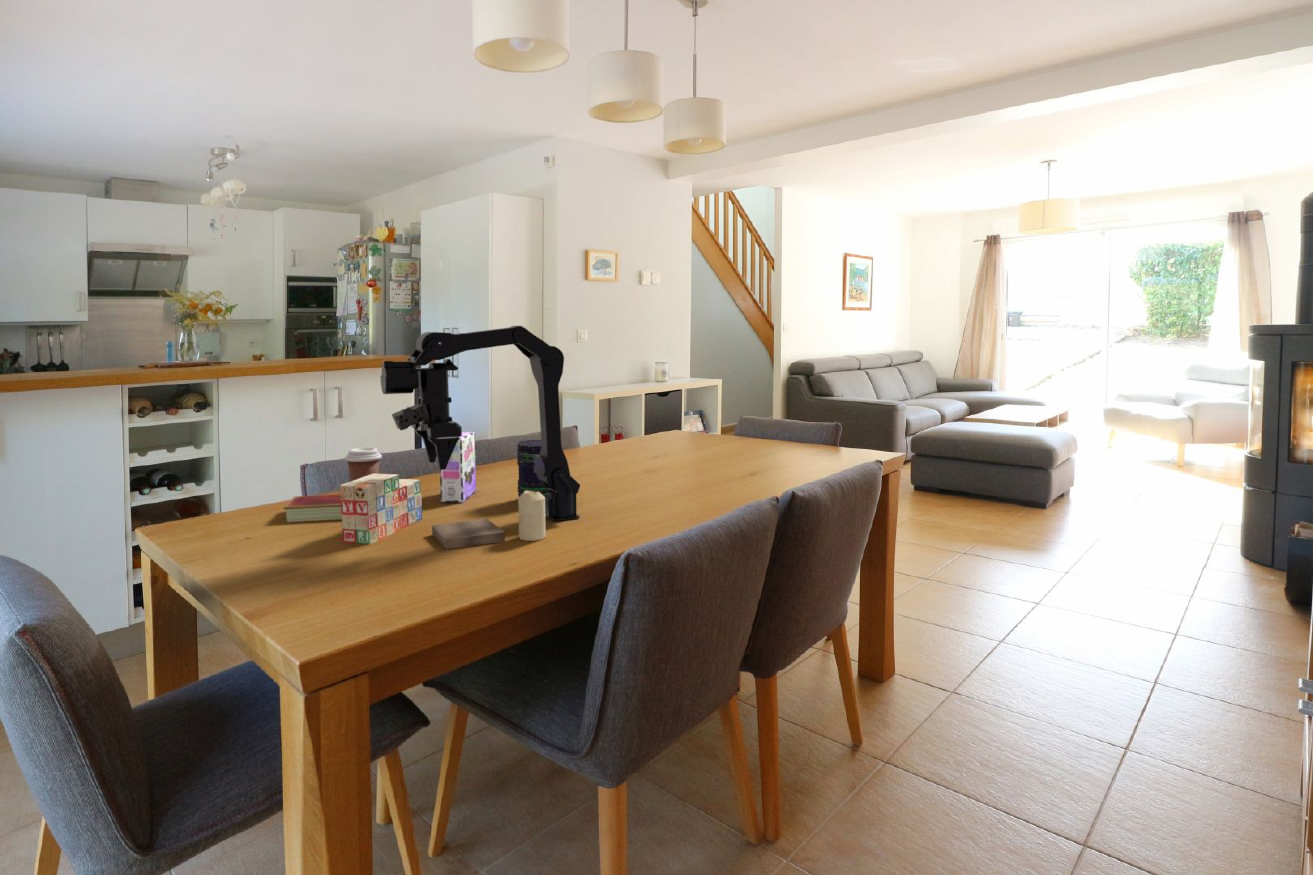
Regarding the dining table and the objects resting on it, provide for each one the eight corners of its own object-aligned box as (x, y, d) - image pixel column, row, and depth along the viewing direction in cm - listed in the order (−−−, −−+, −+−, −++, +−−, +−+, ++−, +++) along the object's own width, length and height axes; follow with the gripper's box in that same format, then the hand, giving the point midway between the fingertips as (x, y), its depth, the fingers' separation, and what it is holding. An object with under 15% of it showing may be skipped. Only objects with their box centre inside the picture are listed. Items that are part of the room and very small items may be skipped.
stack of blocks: (398, 517, 175) (395, 465, 174) (422, 519, 174) (420, 466, 172) (342, 542, 155) (339, 484, 153) (370, 544, 153) (367, 485, 152)
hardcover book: (295, 512, 181) (294, 494, 181) (388, 507, 186) (387, 490, 186) (284, 524, 170) (283, 506, 169) (383, 519, 175) (382, 501, 174)
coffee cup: (352, 491, 202) (350, 446, 200) (387, 490, 203) (385, 446, 201) (342, 498, 193) (339, 452, 191) (378, 498, 194) (376, 452, 192)
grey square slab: (487, 527, 166) (487, 518, 166) (504, 541, 156) (504, 531, 156) (432, 534, 160) (431, 525, 160) (446, 549, 150) (446, 539, 150)
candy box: (463, 503, 189) (461, 438, 187) (440, 503, 189) (437, 438, 187) (477, 491, 203) (475, 430, 200) (455, 491, 203) (453, 430, 201)
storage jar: (537, 494, 199) (536, 438, 197) (565, 499, 194) (564, 442, 191) (509, 501, 191) (508, 443, 189) (537, 507, 186) (536, 447, 183)
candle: (550, 535, 161) (549, 489, 159) (537, 542, 155) (537, 494, 154) (527, 533, 162) (526, 487, 161) (514, 539, 157) (513, 492, 156)
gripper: (386, 390, 162) (389, 462, 164) (403, 397, 146) (407, 477, 148) (438, 388, 167) (441, 458, 169) (461, 395, 151) (463, 472, 153)
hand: (437, 465), depth 160 cm, fingers open, 9 cm apart
